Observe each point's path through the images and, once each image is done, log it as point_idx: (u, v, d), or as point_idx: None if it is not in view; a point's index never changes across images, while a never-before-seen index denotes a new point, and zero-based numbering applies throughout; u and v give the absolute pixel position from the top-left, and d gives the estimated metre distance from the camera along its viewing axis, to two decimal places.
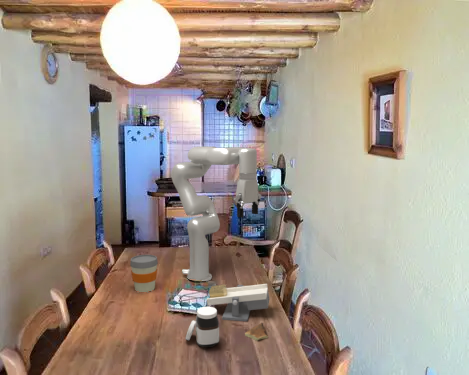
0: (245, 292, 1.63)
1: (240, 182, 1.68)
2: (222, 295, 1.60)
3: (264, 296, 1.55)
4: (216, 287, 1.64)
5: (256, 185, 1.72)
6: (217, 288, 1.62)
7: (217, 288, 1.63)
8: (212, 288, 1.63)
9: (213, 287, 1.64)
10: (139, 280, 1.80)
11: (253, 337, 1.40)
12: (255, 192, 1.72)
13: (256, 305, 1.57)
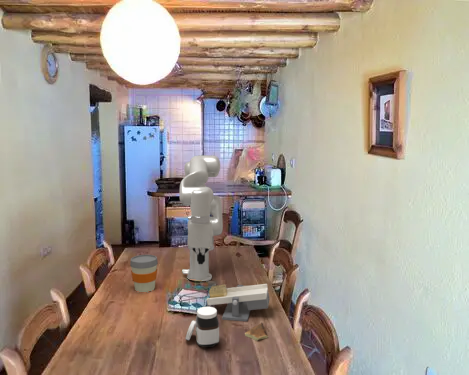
0: (245, 292, 1.63)
1: (211, 225, 1.60)
2: (222, 295, 1.60)
3: (264, 296, 1.55)
4: (216, 287, 1.64)
5: None
6: (217, 288, 1.62)
7: (217, 288, 1.63)
8: (212, 288, 1.63)
9: (213, 287, 1.64)
10: (139, 280, 1.80)
11: (253, 337, 1.41)
12: None
13: (256, 305, 1.57)
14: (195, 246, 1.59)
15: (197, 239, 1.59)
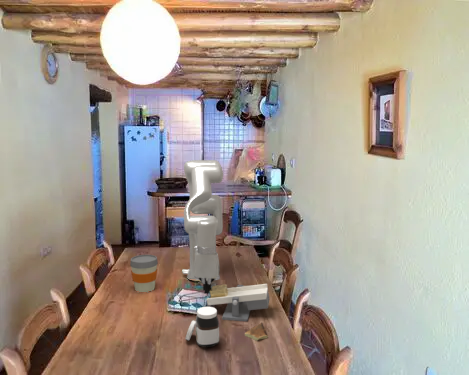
0: (245, 292, 1.63)
1: (217, 255, 1.61)
2: (223, 295, 1.60)
3: (264, 296, 1.55)
4: (217, 287, 1.64)
5: None
6: (217, 288, 1.62)
7: (218, 288, 1.63)
8: (213, 288, 1.63)
9: (214, 287, 1.64)
10: (139, 280, 1.80)
11: (253, 337, 1.41)
12: None
13: (256, 305, 1.57)
14: (201, 276, 1.61)
15: (203, 269, 1.60)
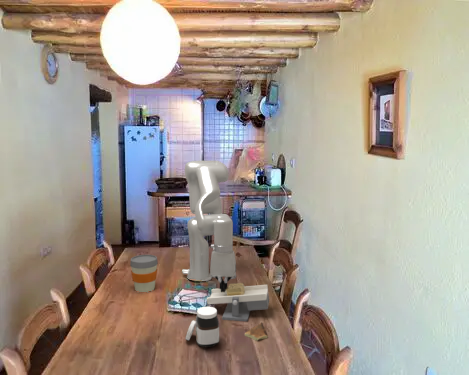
0: (245, 292, 1.63)
1: (234, 253, 1.59)
2: (239, 294, 1.59)
3: (264, 297, 1.55)
4: (234, 285, 1.62)
5: None
6: (234, 287, 1.60)
7: (235, 286, 1.61)
8: (230, 286, 1.62)
9: (231, 285, 1.63)
10: (139, 280, 1.80)
11: (253, 337, 1.41)
12: None
13: (256, 305, 1.57)
14: (218, 274, 1.59)
15: (220, 268, 1.59)
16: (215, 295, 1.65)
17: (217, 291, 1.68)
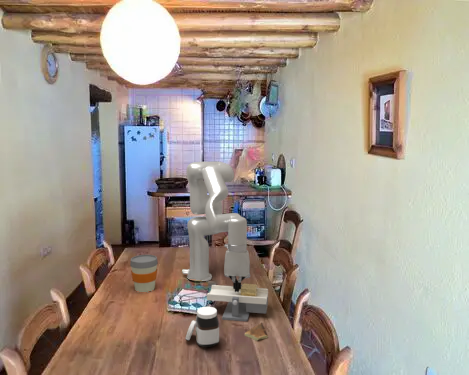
0: None
1: (248, 253, 1.59)
2: (253, 295, 1.58)
3: (264, 301, 1.55)
4: (248, 286, 1.61)
5: None
6: (248, 287, 1.59)
7: (249, 286, 1.60)
8: (244, 286, 1.61)
9: (244, 285, 1.62)
10: (139, 280, 1.80)
11: (253, 337, 1.41)
12: None
13: (255, 308, 1.57)
14: (232, 274, 1.58)
15: (234, 267, 1.58)
16: (215, 292, 1.65)
17: (217, 288, 1.67)
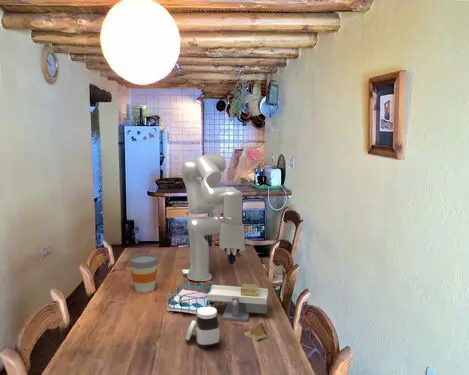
0: None
1: (243, 226, 1.61)
2: (253, 295, 1.58)
3: (264, 301, 1.55)
4: (248, 286, 1.61)
5: None
6: (249, 287, 1.59)
7: (249, 287, 1.60)
8: (244, 286, 1.61)
9: (245, 285, 1.62)
10: (139, 280, 1.80)
11: (253, 337, 1.41)
12: None
13: (255, 308, 1.57)
14: (227, 246, 1.60)
15: (229, 240, 1.60)
16: (215, 292, 1.65)
17: (217, 288, 1.67)
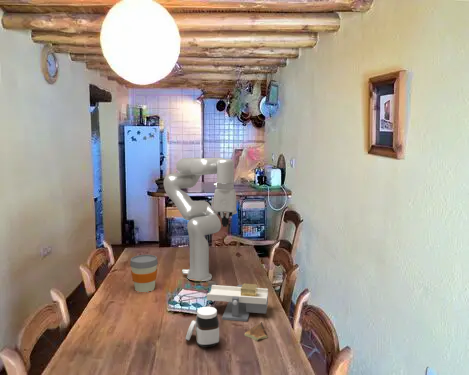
0: None
1: None
2: (253, 295, 1.58)
3: (264, 301, 1.55)
4: (248, 286, 1.61)
5: None
6: (249, 287, 1.59)
7: (249, 287, 1.60)
8: (244, 286, 1.61)
9: (245, 285, 1.62)
10: (139, 280, 1.80)
11: (253, 337, 1.41)
12: None
13: (255, 308, 1.57)
14: (220, 210, 1.76)
15: (222, 204, 1.76)
16: (215, 292, 1.65)
17: (217, 288, 1.67)
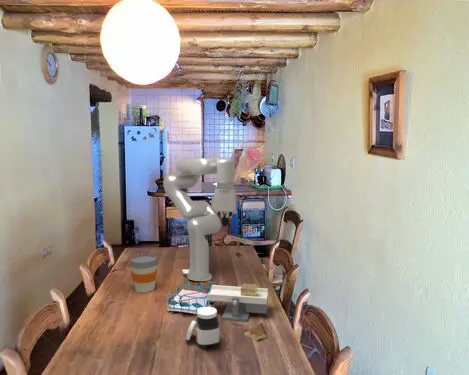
0: None
1: None
2: (253, 295, 1.58)
3: (264, 301, 1.55)
4: (248, 286, 1.61)
5: None
6: (249, 287, 1.59)
7: (249, 287, 1.60)
8: (244, 286, 1.61)
9: (245, 285, 1.62)
10: (139, 280, 1.80)
11: (253, 337, 1.41)
12: None
13: (255, 308, 1.57)
14: (220, 209, 1.76)
15: (222, 203, 1.76)
16: (215, 292, 1.65)
17: (217, 288, 1.67)
